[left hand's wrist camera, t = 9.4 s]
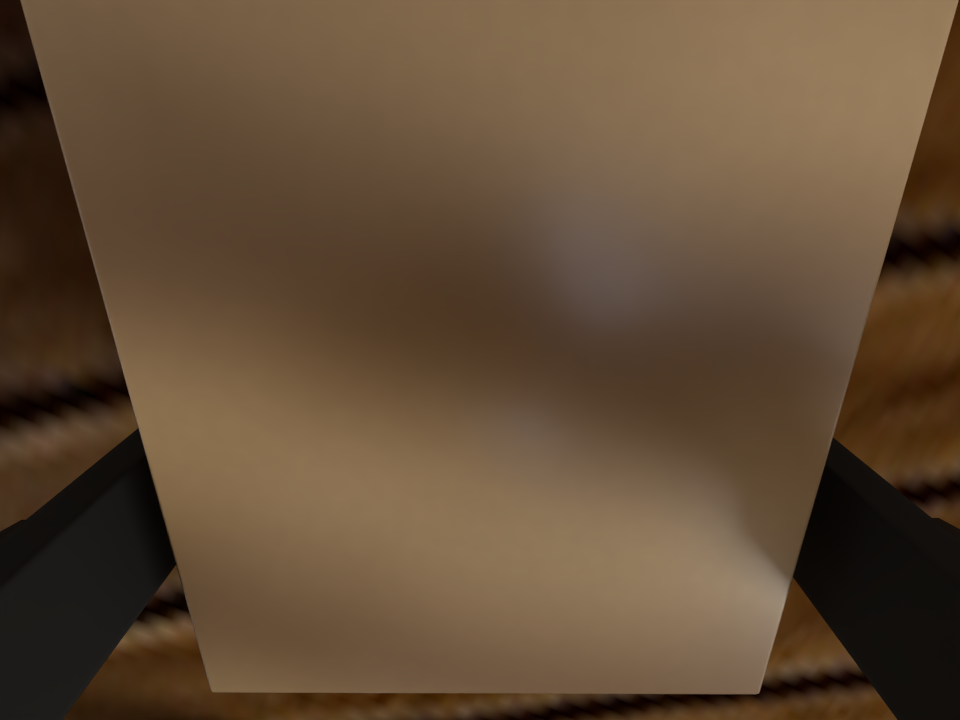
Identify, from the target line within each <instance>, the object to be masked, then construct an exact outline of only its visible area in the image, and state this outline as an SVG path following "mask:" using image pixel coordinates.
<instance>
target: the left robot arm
mask: <svg viewBox="0 0 960 720" xmlns="http://www.w3.org/2000/svg"><path fill="white" fill-rule="evenodd" d="M175 565H176V562H175V558H174V554H173V551H172V547H171V544H170V540H169V536H168V533H167V529H166V525H165V522H164V518H163V515H162V511H161V507H160V504H159V500H158V496H157V493H156V489H155V486H154V482H153V478H152V475H151V471H150V468H149V464H148V460H147V457H146V453H145V449H144V446H143V442H142V439H141V435H140V431H139V428H138V429H137V430H136V431H134V432H133V433H132V434H131V435H130V436H128V437H127V438H126V439H125V440H123V441H122V442H121V443H120V444H119V445H117V446H116V447H115V448H114V449H112V450H111V451H110V452H109V453H107V454H106V455H105V456H104V457H103V458H101V459H100V460H99V461H98V462H96V463H95V464H94V465H93V466H92V467H90V468H89V469H88V470H87V471H85V472H84V473H83V474H82V475H81V476H79V477H78V478H77V479H76V480H74V481H73V482H72V483H71V484H69V485H68V486H67V487H66V488H65V489H63V490H62V491H61V492H60V493H58V494H57V495H56V496H55V497H54V498H52V499H51V500H50V501H49V502H47V503H46V504H45V505H44V506H43V507H41V508H40V509H39V510H38V511H36V512H35V513H34V514H33V515H31V516H30V517H29V518H28V519H27V520H21V521H19V522H17V523H15V524H14V525H12V526H10V527H8V528H6V529H4V530H2V531H1V532H0V720H63V718H64V717H65V715H66V714H67V713H68V711H69V710H70V709H71V707H72V706H73V705H74V703H75V702H76V700H77V699H78V698H79V696H80V695H81V694H82V692H83V691H84V690H85V688H86V687H87V685H88V684H89V683H90V681H91V680H92V679H93V677H94V676H95V674H96V673H97V672H98V670H99V669H100V668H101V666H102V665H103V664H104V662H105V661H106V659H107V658H108V657H109V655H110V654H111V653H112V651H113V650H114V649H115V647H116V646H117V644H118V643H119V642H120V640H121V639H122V638H123V636H124V635H125V634H126V632H127V631H128V629H129V628H130V627H131V625H132V624H133V623H134V621H135V620H136V619H137V617H138V616H139V614H140V613H141V612H142V610H143V609H144V608H145V606H146V605H147V604H148V602H149V601H150V599H151V598H152V597H153V595H154V594H155V593H156V591H157V590H158V588H159V587H160V586H161V584H162V583H163V582H164V580H165V579H166V578H167V576H168V575H169V573H170V572H171V571H172V569H173V568H174V567H175ZM793 578H794V579H795V580H796V582H797V583H798V584H799V586H800V587H801V589H802V590H803V591H804V593H805V594H806V595H807V597H808V598H809V599H810V601H811V602H812V604H813V605H814V606H815V608H816V609H817V610H818V612H819V613H820V614H821V616H822V617H823V619H824V620H825V621H826V623H827V624H828V625H829V627H830V628H831V629H832V631H833V632H834V634H835V635H836V636H837V638H838V639H839V640H840V642H841V643H842V644H843V646H844V647H845V649H846V650H847V651H848V653H849V654H850V655H851V657H852V658H853V659H854V661H855V662H856V664H857V665H858V666H859V668H860V669H861V670H862V672H863V673H864V674H865V676H866V677H867V679H868V680H869V681H870V683H871V684H872V685H873V687H874V688H875V690H876V691H877V692H878V694H879V695H880V696H881V698H882V699H883V700H884V702H885V703H886V705H887V706H888V707H889V709H890V710H891V711H892V713H893V714H894V715H895V717H896V718H897V720H960V529H958V528H956V527H954V526H953V525H951V524H949V523H947V522H945V521H943V520H941V519H940V518H931V517H930V516H929V515H927V514H926V513H925V512H924V511H922V510H921V509H920V508H919V507H917V506H916V505H915V504H914V503H913V502H911V501H910V500H909V499H908V498H906V497H905V496H904V495H903V494H902V493H900V492H899V491H898V490H897V489H895V488H894V487H893V486H892V485H891V484H889V483H888V482H887V481H886V480H884V479H883V478H882V477H881V476H879V475H878V474H877V473H876V472H875V471H873V470H872V469H871V468H870V467H868V466H867V465H866V464H865V463H864V462H862V461H861V460H860V459H859V458H857V457H856V456H855V455H854V454H853V453H851V452H850V451H849V450H848V449H846V448H845V447H844V446H843V445H841V444H840V443H839V442H838V441H837V440H835V439H834V438H833V439H832V442H831V446H830V449H829V453H828V456H827V459H826V463H825V466H824V470H823V473H822V477H821V480H820V484H819V487H818V491H817V494H816V498H815V501H814V505H813V508H812V512H811V515H810V519H809V522H808V526H807V529H806V532H805V536H804V539H803V543H802V546H801V550H800V553H799V557H798V560H797V564H796V567H795V571H794V574H793Z"/></svg>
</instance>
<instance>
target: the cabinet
mask: <svg viewBox="0 0 960 720" xmlns="http://www.w3.org/2000/svg"><path fill="white" fill-rule="evenodd" d="M958 1H959V0H21V4H22V8H23V11H24V15H25V18H26V22H27V26H28V29H29V33H30V37H31V40H32V44H33V47H34V51H35V55H36V58H37V62H38V66H39V69H40V73H41V76H42V80H43V84H44V87H45V91H46V95H47V98H48V102H49V105H50V109H51V113H52V116H53V120H54V124H55V127H56V131H57V134H58V138H59V142H60V145H61V149H62V152H63V156H64V160H65V163H66V167H67V171H68V174H69V178H70V181H71V185H72V189H73V192H74V196H75V200H76V203H77V207H78V210H79V214H80V218H81V221H82V225H83V229H84V232H85V236H86V239H87V243H88V247H89V250H90V254H91V257H92V261H93V265H94V268H95V272H96V276H97V279H98V283H99V286H100V290H101V294H102V297H103V301H104V305H105V308H106V312H107V315H108V319H109V323H110V326H111V330H112V334H113V337H114V341H115V344H116V348H117V352H118V355H119V359H120V363H121V366H122V370H123V373H124V377H125V381H126V384H127V388H128V391H129V395H130V399H131V402H132V406H133V410H134V413H135V417H136V420H137V424H138V428H139V431H140V435H141V439H142V442H143V446H144V449H145V453H146V457H147V460H148V464H149V468H150V471H151V475H152V478H153V482H154V486H155V489H156V493H157V496H158V500H159V504H160V507H161V511H162V515H163V518H164V522H165V525H166V529H167V533H168V536H169V540H170V544H171V547H172V551H173V554H174V558H175V562H176V565H177V569H178V573H179V576H180V580H181V583H182V587H183V591H184V594H185V598H186V602H187V605H188V609H189V612H190V616H191V620H192V623H193V627H194V630H195V634H196V638H197V641H198V645H199V649H200V652H201V656H202V659H203V663H204V667H205V670H206V674H207V678H208V681H209V685H210V688H211V691H212V692H264V693H560V694H758V693H759V692H760V689H761V685H762V682H763V678H764V675H765V672H766V668H767V665H768V661H769V658H770V654H771V651H772V647H773V644H774V640H775V637H776V633H777V630H778V626H779V623H780V619H781V616H782V612H783V609H784V605H785V602H786V599H787V595H788V592H789V588H790V585H791V581H792V578H793V574H794V571H795V567H796V564H797V560H798V557H799V553H800V550H801V546H802V543H803V539H804V536H805V532H806V529H807V526H808V522H809V519H810V515H811V512H812V508H813V505H814V501H815V498H816V494H817V491H818V487H819V484H820V480H821V477H822V473H823V470H824V466H825V463H826V459H827V456H828V453H829V449H830V446H831V442H832V439H833V435H834V432H835V428H836V425H837V421H838V418H839V414H840V411H841V407H842V404H843V400H844V397H845V393H846V390H847V386H848V383H849V380H850V376H851V373H852V369H853V366H854V362H855V359H856V355H857V352H858V348H859V345H860V341H861V338H862V334H863V331H864V327H865V324H866V320H867V317H868V313H869V310H870V307H871V303H872V300H873V296H874V293H875V289H876V286H877V282H878V279H879V275H880V272H881V268H882V265H883V261H884V258H885V254H886V251H887V247H888V244H889V240H890V237H891V234H892V230H893V227H894V223H895V220H896V216H897V213H898V209H899V206H900V202H901V199H902V195H903V192H904V188H905V185H906V181H907V178H908V174H909V171H910V167H911V164H912V161H913V157H914V154H915V150H916V147H917V143H918V140H919V136H920V133H921V129H922V126H923V122H924V119H925V115H926V112H927V108H928V105H929V101H930V98H931V94H932V91H933V88H934V84H935V81H936V77H937V74H938V70H939V67H940V63H941V60H942V56H943V53H944V49H945V46H946V42H947V39H948V35H949V32H950V28H951V25H952V21H953V18H954V15H955V11H956V8H957V4H958Z"/></svg>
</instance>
